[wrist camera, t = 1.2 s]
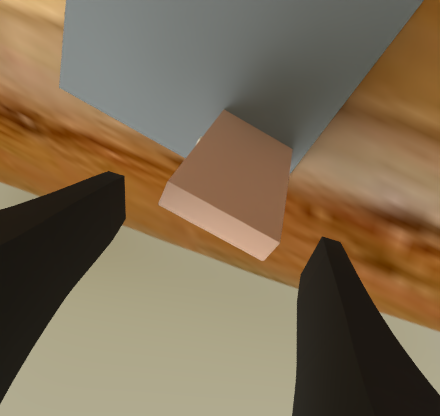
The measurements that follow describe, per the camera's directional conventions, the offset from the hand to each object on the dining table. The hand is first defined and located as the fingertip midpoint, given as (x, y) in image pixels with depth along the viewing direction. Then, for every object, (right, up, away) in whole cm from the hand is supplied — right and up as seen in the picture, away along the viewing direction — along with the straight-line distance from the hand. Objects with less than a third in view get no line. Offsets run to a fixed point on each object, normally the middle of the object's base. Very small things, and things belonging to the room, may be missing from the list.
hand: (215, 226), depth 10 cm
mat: (+4, +16, -2) cm, 17 cm away
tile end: (+2, +5, +6) cm, 8 cm away
